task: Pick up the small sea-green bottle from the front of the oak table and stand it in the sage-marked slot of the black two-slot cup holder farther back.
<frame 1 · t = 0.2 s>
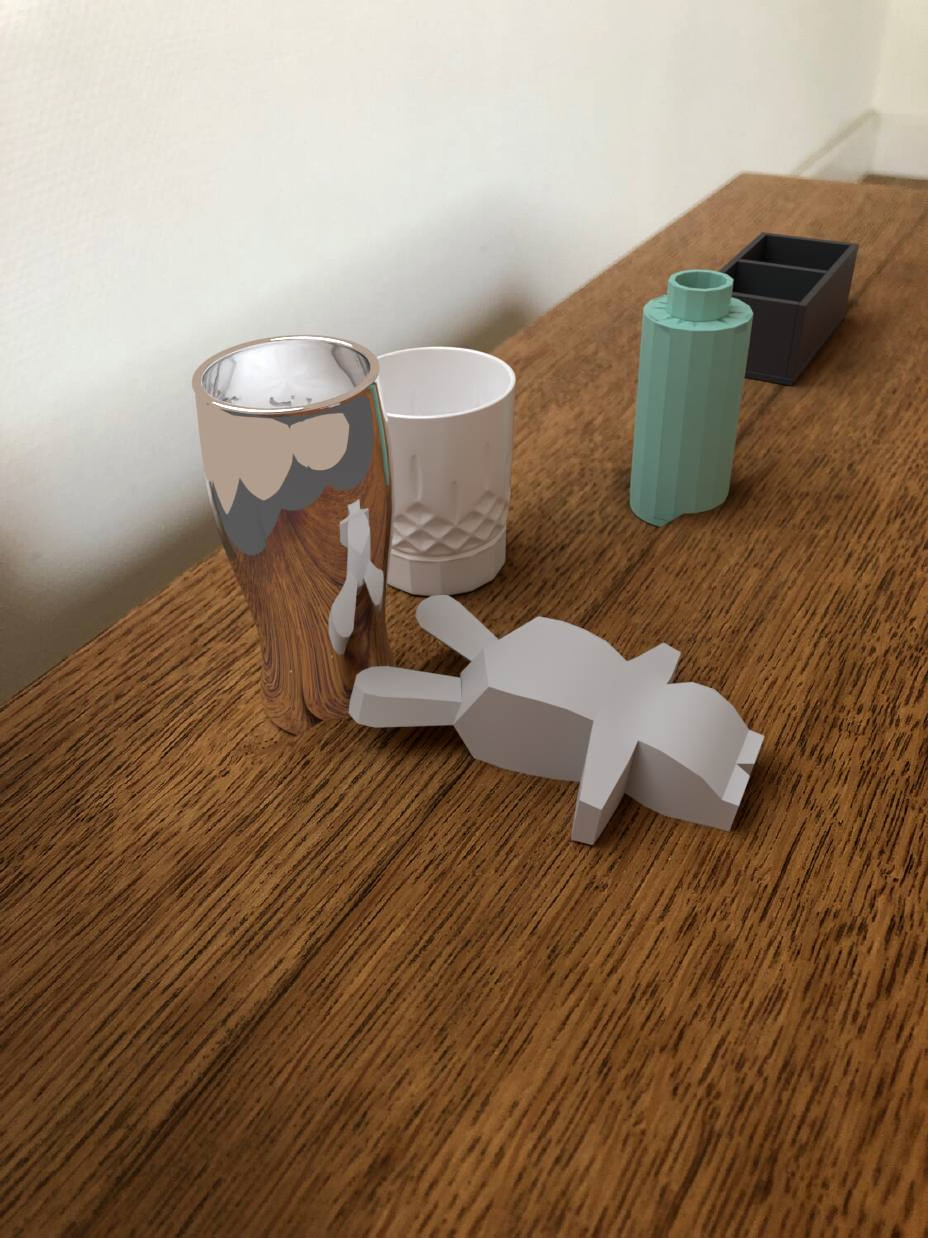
white cup: (440, 563, 53), on the table
bottle: (677, 505, 56), on the table
bunny figurine: (556, 761, 41), on the table
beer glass: (332, 695, 45), on the table
holder: (770, 341, 74), on the table
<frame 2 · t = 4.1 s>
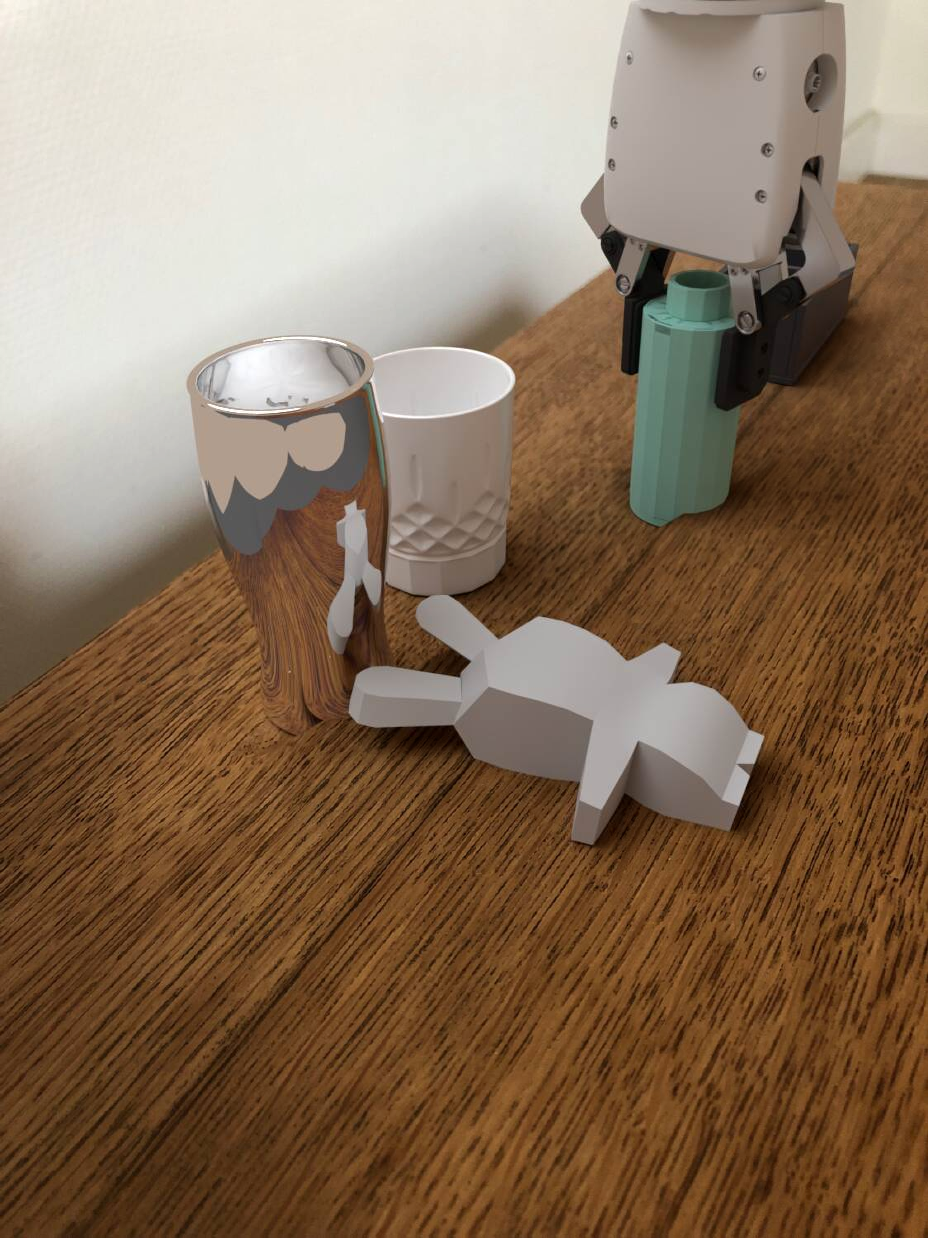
hand: (690, 380, 52), 7 cm above the table, tool pointing down, fingers closed on bottle, 5 cm apart
bottle: (677, 505, 56), on the table, touching gripper
everything else where it was.
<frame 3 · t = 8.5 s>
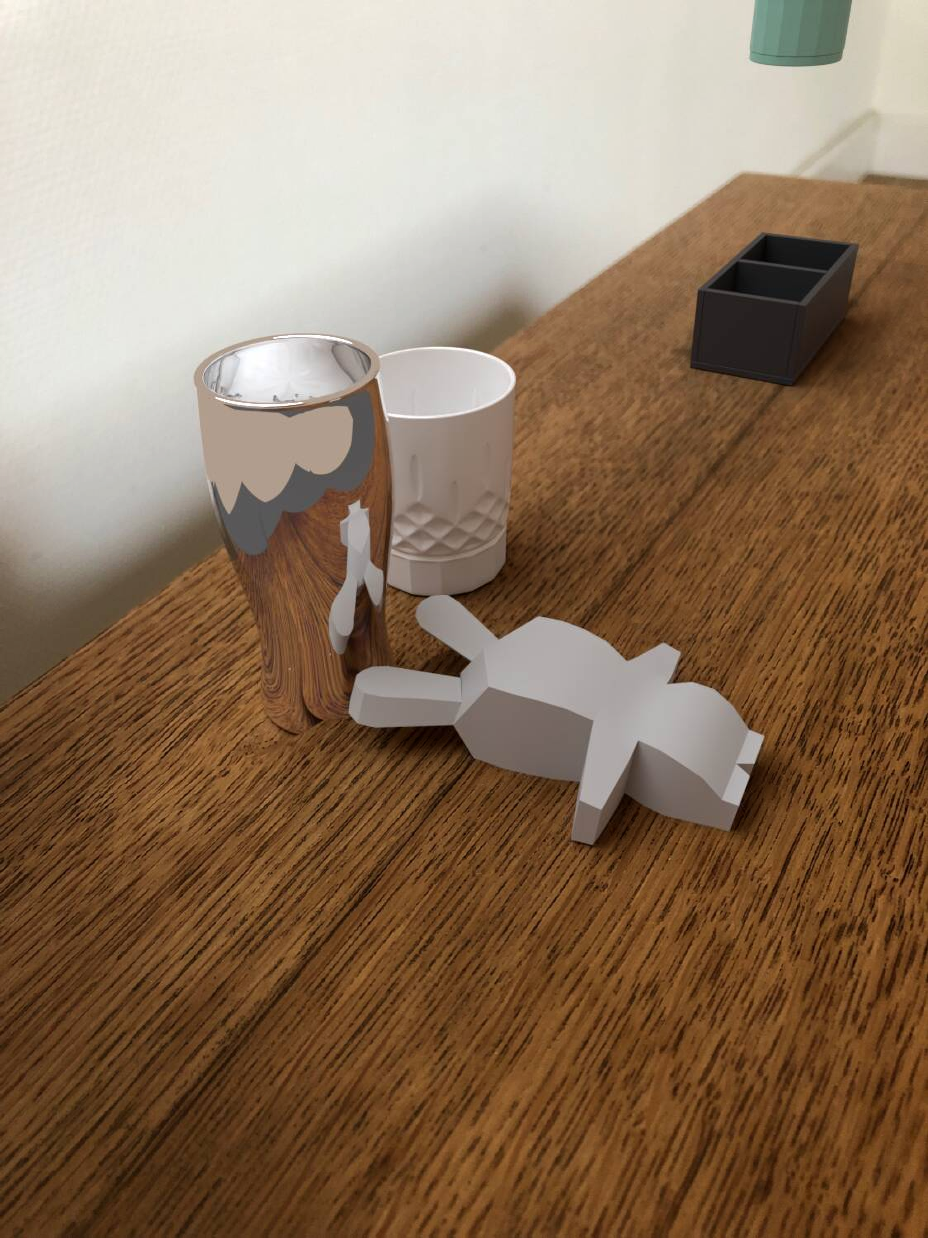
bottle: (794, 58, 60), point 19 cm above the table, touching gripper
everything else where it was.
when the fingers open (8 cm above the table, at t = 12.9 s): bottle stays where it is, resting on holder.
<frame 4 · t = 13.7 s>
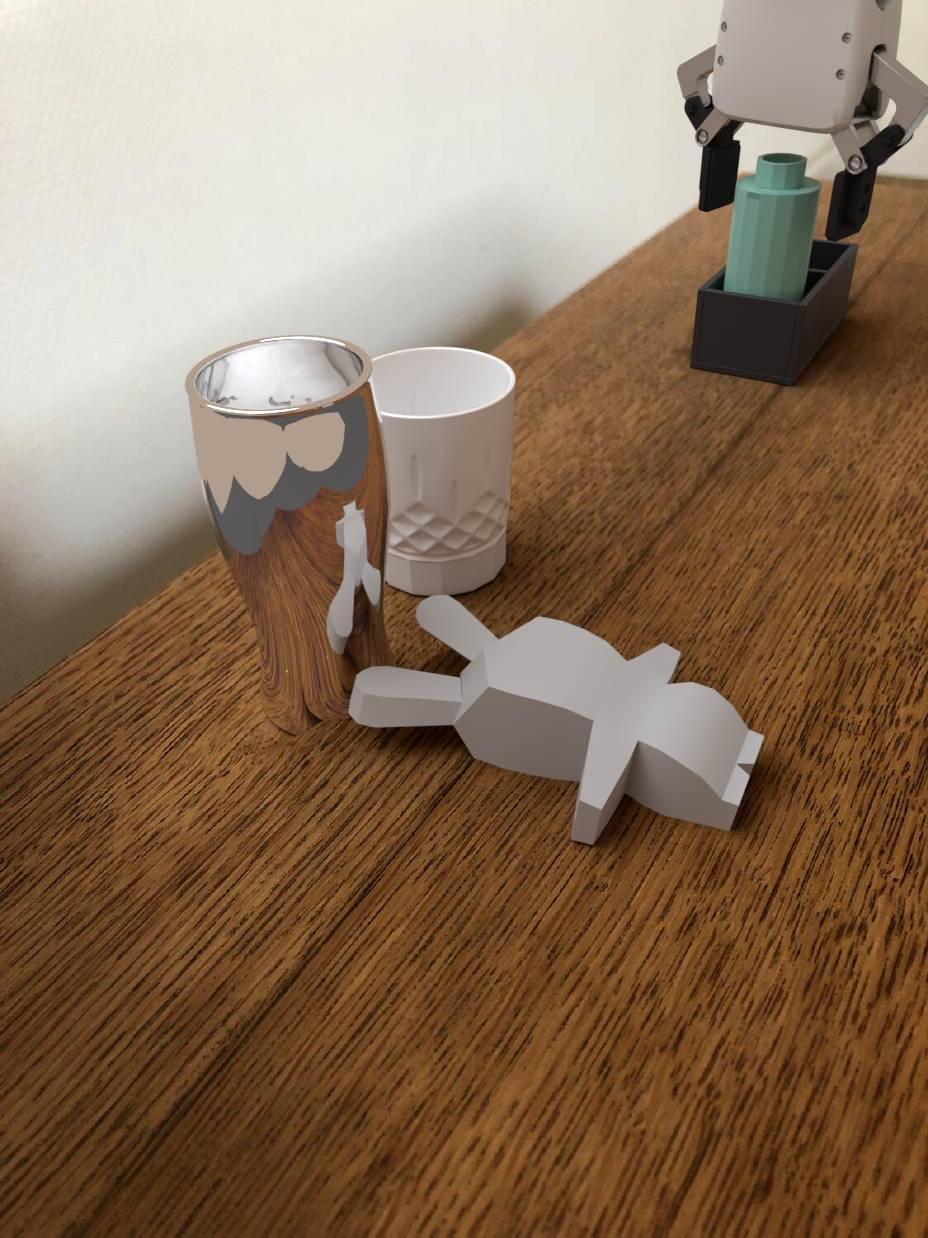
hand: (776, 220, 67), 9 cm above the table, tool pointing down, fingers open, 9 cm apart
bottle: (755, 348, 72), point 1 cm above the table, touching holder
everything else where it was.
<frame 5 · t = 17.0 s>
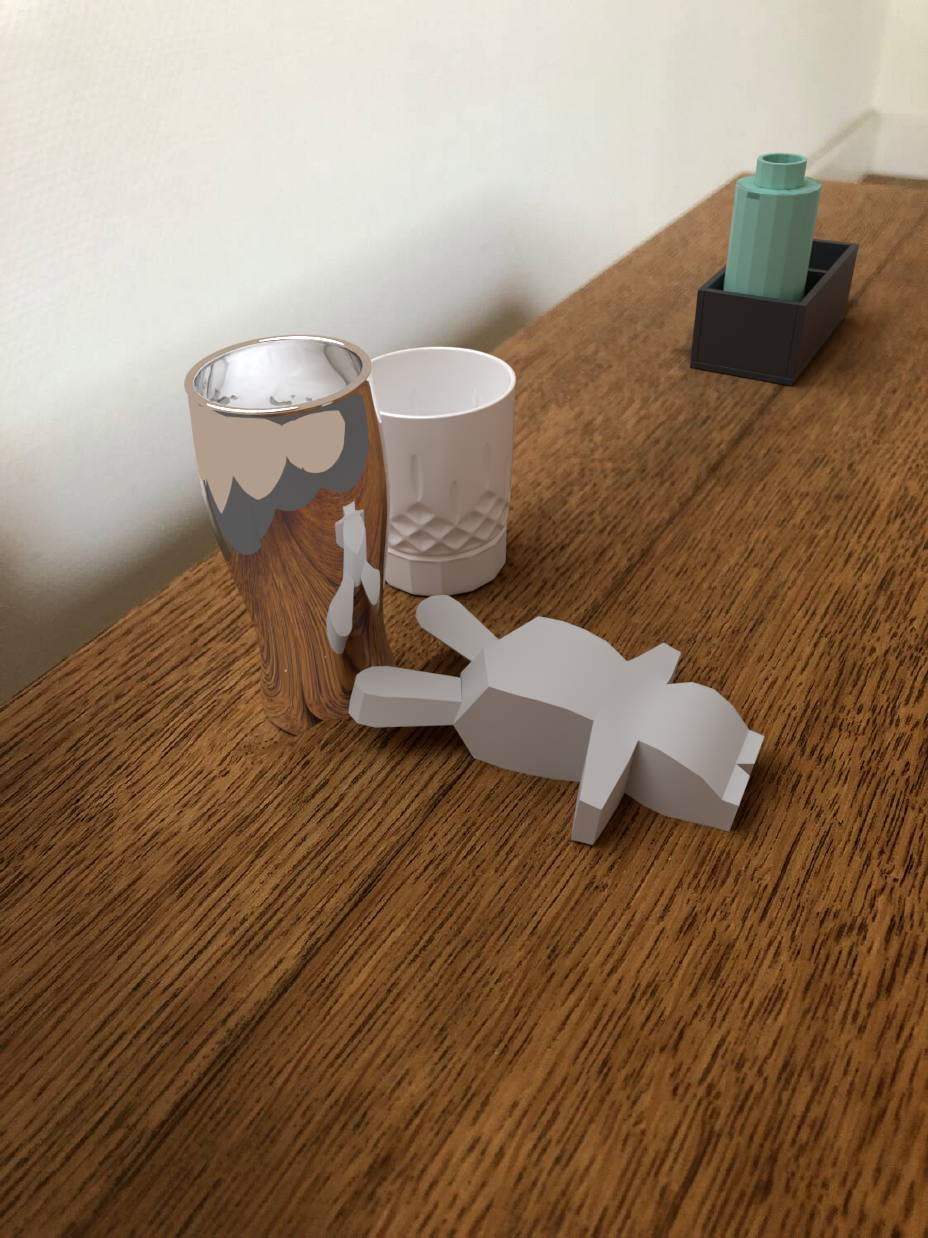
nothing on the table moved.
at the end: bottle 0.2 cm from the target spot in the holder, point 0.7 cm above the holder's base; bottle tilted 0°; the gripper is holding nothing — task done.
